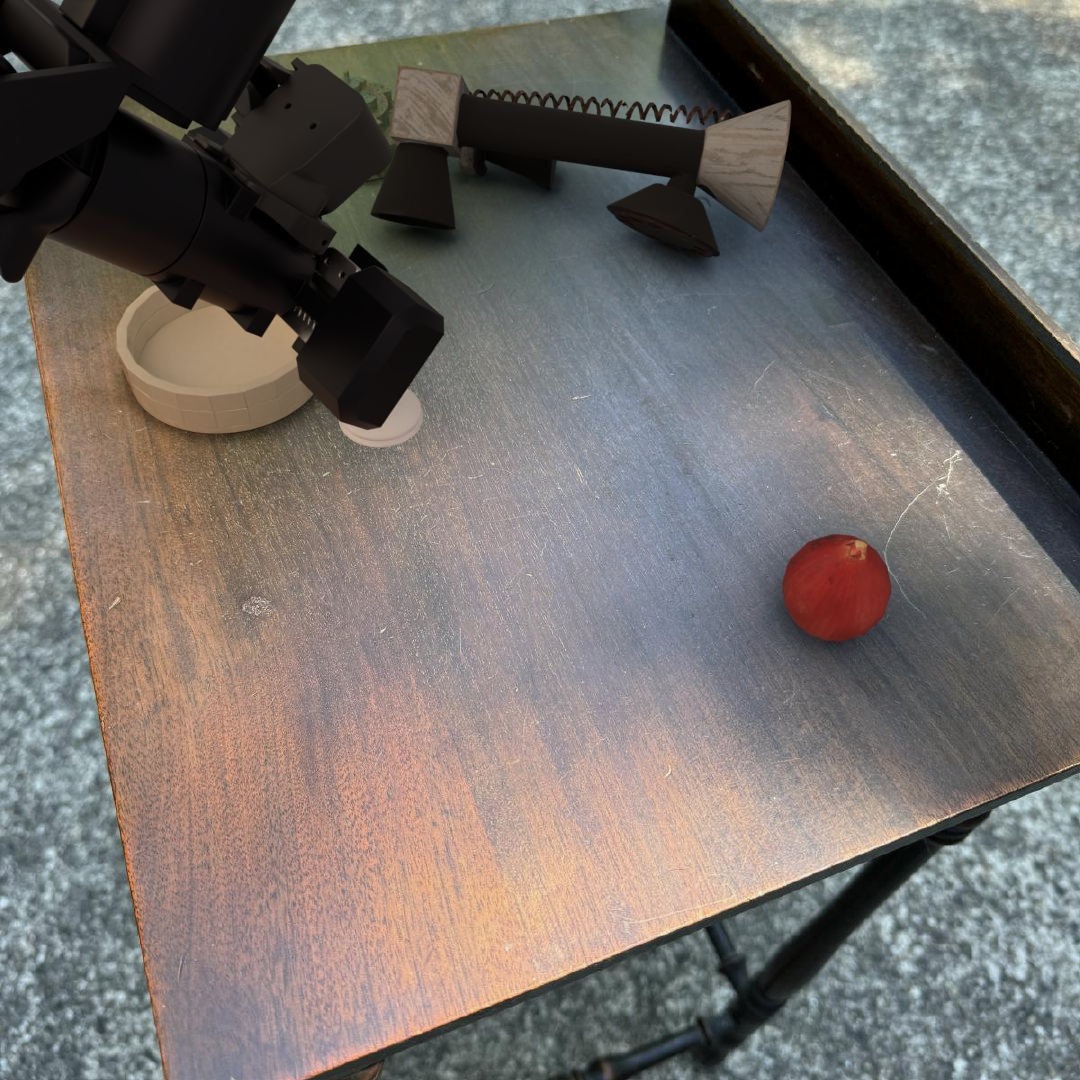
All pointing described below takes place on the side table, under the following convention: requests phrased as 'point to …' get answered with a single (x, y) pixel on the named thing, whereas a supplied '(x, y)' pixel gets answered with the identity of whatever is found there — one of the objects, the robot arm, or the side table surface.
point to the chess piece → (391, 425)
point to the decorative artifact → (375, 107)
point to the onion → (836, 587)
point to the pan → (207, 366)
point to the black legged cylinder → (581, 155)
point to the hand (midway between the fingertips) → (394, 320)
